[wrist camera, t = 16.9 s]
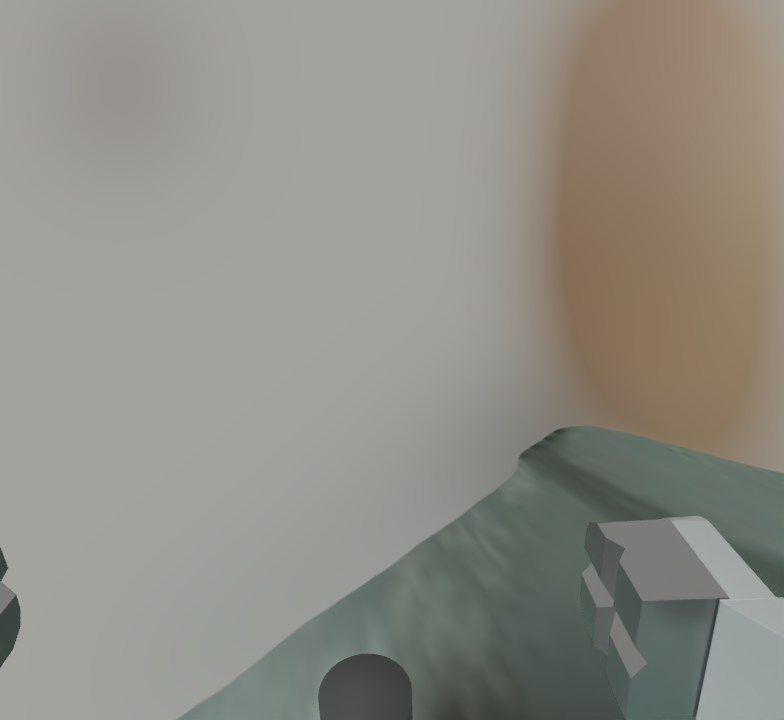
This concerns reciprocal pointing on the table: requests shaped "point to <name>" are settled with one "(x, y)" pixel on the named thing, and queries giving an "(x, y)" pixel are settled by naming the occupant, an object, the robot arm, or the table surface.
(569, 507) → the table surface
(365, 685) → the cylinder
